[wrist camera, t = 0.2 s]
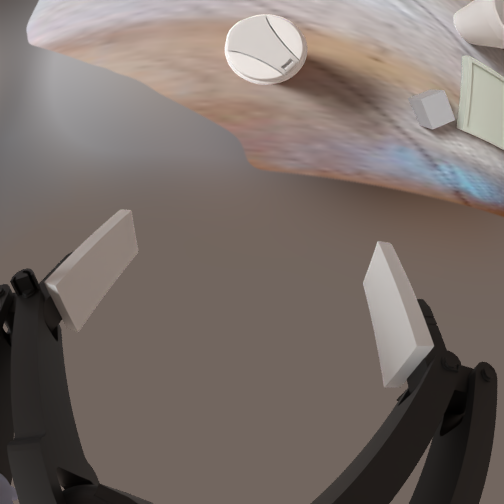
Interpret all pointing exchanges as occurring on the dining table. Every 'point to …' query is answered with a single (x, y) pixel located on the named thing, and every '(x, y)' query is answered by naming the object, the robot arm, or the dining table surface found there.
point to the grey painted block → (432, 108)
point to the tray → (481, 102)
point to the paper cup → (265, 49)
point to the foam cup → (482, 23)
